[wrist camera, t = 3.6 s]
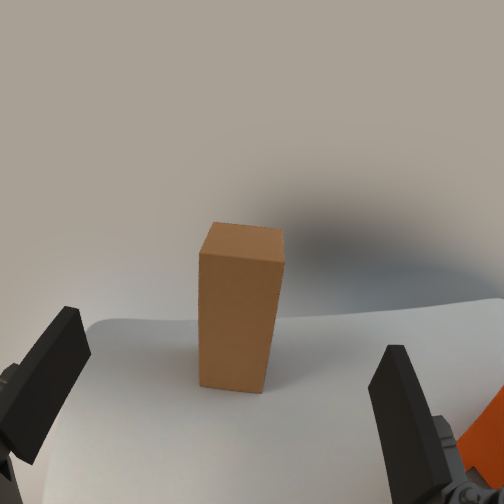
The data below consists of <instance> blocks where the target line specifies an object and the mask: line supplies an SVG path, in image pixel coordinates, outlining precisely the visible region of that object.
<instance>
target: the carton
mask: <svg viewBox="0 0 504 504" xmlns="http://www.w3.org/2000/svg"><path fill="white" fill-rule="evenodd" d="M284 265H285V258H284V243H283V230H282V229H275V228H266V227H257V226H247V225H238V224H229V223H220V222H213V224H212V226H211V228H210V230H209V232H208V235H207V237H206V239H205V241H204V243H203V246H202V248H201V250H200V252H199V298H198V312H199V313H198V314H199V318H198V325H199V385H200V386H202V387H209V388H217V389H224V390H233V391H241V392H251V393H262V390H263V385H264V379H265V374H266V369H267V363H268V358H269V352H270V347H271V341H272V336H273V330H274V324H275V319H276V313H277V307H278V301H279V295H280V289H281V283H282V277H283V271H284Z"/></svg>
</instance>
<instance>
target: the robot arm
mask: <svg viewBox="0 0 504 504" xmlns="http://www.w3.org/2000/svg"><path fill="white" fill-rule="evenodd" d="M90 356H91V352H90V349H89V345H88V342H87V338H86V335H85V331H84V327H83V324H82V320H81V316H80V312H79V309H77V308H72V307H68V306H64V308H63V309H62V310H61V311H60V312H59V314H58V315H57V316H56V317H55V319H54V320H53V321H52V323H51V324H50V325H49V326H48V327H47V329H46V330H45V331H44V333H43V334H42V335H41V336H40V338H39V339H38V340H37V342H36V343H35V344H34V346H33V347H32V348H31V350H30V351H29V352H28V354H27V355H26V356H25V358H24V359H23V361H22V362H21V363H20V365H18V364H15V363H13V364H12V365H10V366H9V367H7V368H6V369H5V370H4V371H3V372H2V374H1V375H0V504H23V502H22V499H21V496H20V492H19V489H18V485H17V482H16V478H15V474H14V470H13V466H12V462H11V459H10V457H9V453H10V451H12V452H13V453H14V455H15V456H16V457H17V458H19V459H21V460H23V461H24V462H26V463H28V464H30V465H33V463H34V461H35V458H36V456H37V454H38V452H39V450H40V448H41V446H42V444H43V442H44V440H45V438H46V436H47V434H48V432H49V430H50V428H51V426H52V424H53V422H54V420H55V419H56V416H57V415H58V413H59V411H60V409H61V407H62V405H63V404H64V402H65V400H66V398H67V396H68V394H69V393H70V391H71V389H72V387H73V385H74V384H75V382H76V380H77V378H78V376H79V375H80V373H81V371H82V369H83V368H84V366H85V364H86V363H87V361H88V359H89V357H90ZM368 390H369V394H370V398H371V402H372V406H373V411H374V415H375V419H376V423H377V428H378V432H379V437H380V441H381V446H382V451H383V456H384V460H385V465H386V470H387V476H388V481H389V486H390V492H391V497H392V503H393V504H504V486H502V487H501V488H500V489H482V488H480V487H479V485H477V484H476V483H475V482H471V481H470V480H469V479H468V476H467V474H466V471H465V468H464V464H463V461H462V458H461V455H460V453H459V450H458V447H456V445H457V444H456V441H455V438H453V433H452V430H451V427H450V425H449V424H448V422H447V421H446V420H445V419H444V418H443V416H442V415H440V416H432V415H431V413H430V410H429V407H428V404H427V402H426V399H425V396H424V394H423V391H422V389H421V386H420V384H419V381H418V378H417V376H416V373H415V371H414V369H413V366H412V364H411V361H410V359H409V356H408V354H407V352H406V349H405V347H404V345H388V346H387V348H386V350H385V353H384V355H383V357H382V359H381V361H380V364H379V366H378V368H377V370H376V372H375V374H374V376H373V378H372V380H371V382H370V384H369V386H368Z"/></svg>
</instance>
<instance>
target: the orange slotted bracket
mask: <svg viewBox="0 0 504 504" xmlns="http://www.w3.org/2000/svg"><path fill="white" fill-rule="evenodd" d="M456 444H457V445H456V447H458V450H459V453H460V455H461V458H462V461H463V464H464V468H465V471H466V472H467V471H468V470H469V469H470V468H471V467H473V466H474V467H475V468H476V469H477V471H478V472H479V473H480V474H481V476H482V477H483V478H484V479H485V481H486V482H487V483H488V485H489V486H490V487H491V488H492V489H500V488H501V487H502V486H504V385H503V387H502V388H501V390H500V391H499V392H498V394H497V395H496V396H495V398H494V399H493V400H492V401H491V403H490V404H489V405H488V407H487V408H486V409H485V410H484V411H483V413H482V414H481V415H480V416H479V418H478V419H477V420H476V421H475V422H474V423H473V425H472V426H471V427H470V428H469V429H468V430H467V431H466V433H465V434H464V435H463V436H462V437H461V438H460V439H459V440H458V441H457V442H456Z"/></svg>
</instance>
